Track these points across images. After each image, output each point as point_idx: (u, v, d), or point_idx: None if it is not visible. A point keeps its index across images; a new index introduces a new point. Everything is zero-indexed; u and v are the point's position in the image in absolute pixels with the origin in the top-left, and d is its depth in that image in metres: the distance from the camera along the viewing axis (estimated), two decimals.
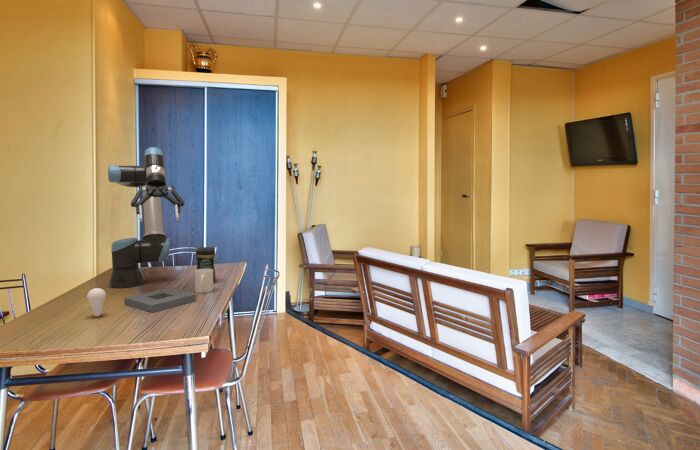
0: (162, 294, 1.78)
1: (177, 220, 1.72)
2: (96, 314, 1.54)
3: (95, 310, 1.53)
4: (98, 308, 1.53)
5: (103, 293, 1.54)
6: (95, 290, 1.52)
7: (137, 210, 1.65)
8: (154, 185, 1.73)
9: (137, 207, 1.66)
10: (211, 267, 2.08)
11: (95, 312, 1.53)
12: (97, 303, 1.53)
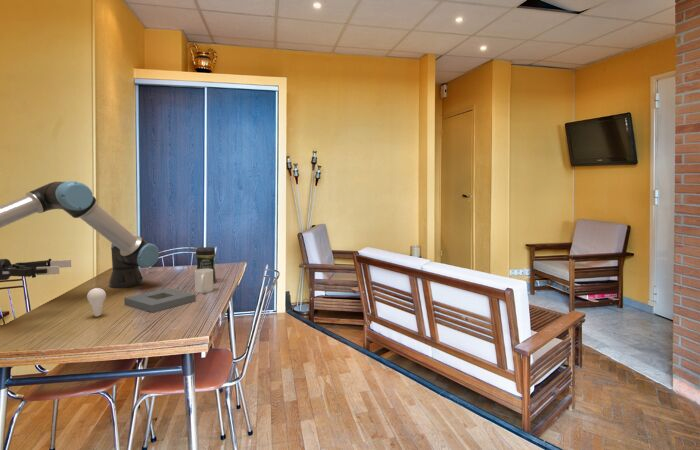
0: (162, 294, 1.78)
1: (58, 267, 1.43)
2: (96, 314, 1.54)
3: (95, 310, 1.53)
4: (98, 308, 1.53)
5: (103, 293, 1.54)
6: (95, 290, 1.52)
7: None
8: None
9: (54, 265, 1.55)
10: (211, 267, 2.08)
11: (95, 312, 1.53)
12: (97, 303, 1.53)
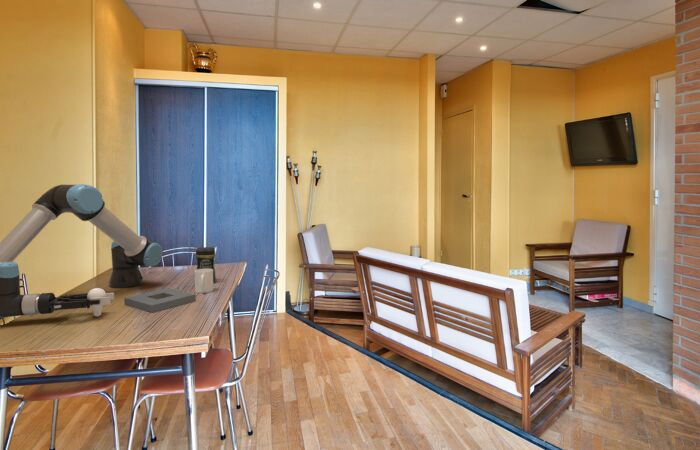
0: (162, 294, 1.78)
1: (110, 297, 1.53)
2: (96, 314, 1.54)
3: (95, 310, 1.53)
4: (98, 308, 1.53)
5: (103, 293, 1.54)
6: (95, 290, 1.52)
7: None
8: None
9: None
10: (211, 267, 2.08)
11: (95, 312, 1.53)
12: None
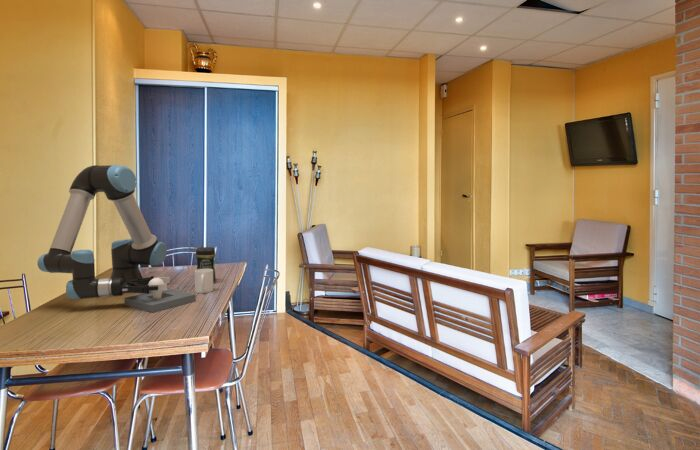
0: (162, 294, 1.78)
1: None
2: None
3: (156, 298, 1.69)
4: (158, 296, 1.69)
5: (162, 282, 1.69)
6: (155, 280, 1.67)
7: None
8: None
9: None
10: (211, 267, 2.08)
11: None
12: (157, 291, 1.68)
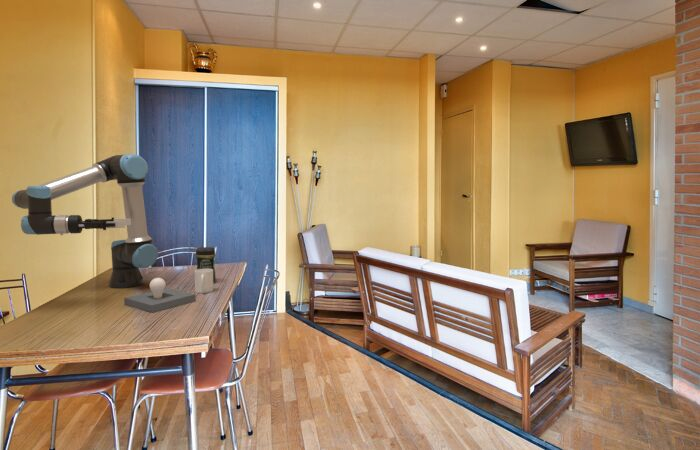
0: (162, 294, 1.78)
1: (124, 221, 1.66)
2: None
3: (156, 298, 1.69)
4: (158, 296, 1.69)
5: (163, 283, 1.69)
6: (156, 280, 1.68)
7: None
8: None
9: None
10: (211, 267, 2.08)
11: None
12: (158, 292, 1.68)
